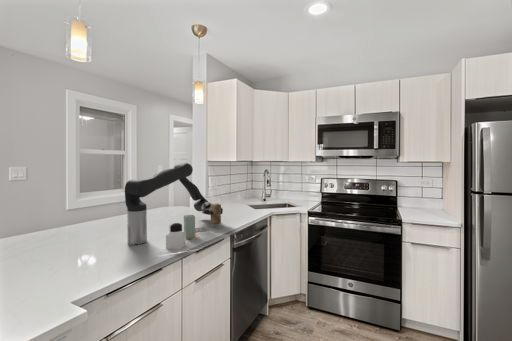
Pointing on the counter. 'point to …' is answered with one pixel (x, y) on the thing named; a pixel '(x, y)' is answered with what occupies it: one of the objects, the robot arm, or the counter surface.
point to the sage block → (189, 226)
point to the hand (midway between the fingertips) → (217, 213)
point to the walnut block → (216, 214)
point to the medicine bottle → (175, 237)
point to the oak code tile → (193, 238)
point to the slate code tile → (200, 229)
